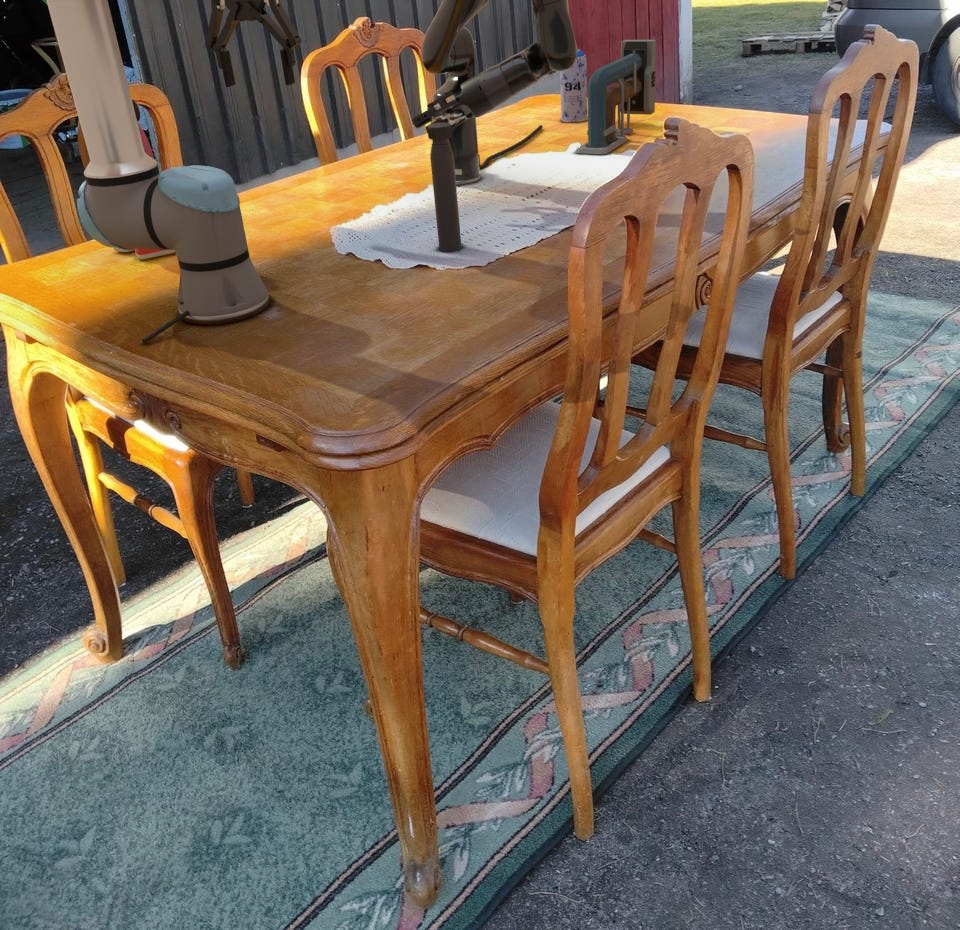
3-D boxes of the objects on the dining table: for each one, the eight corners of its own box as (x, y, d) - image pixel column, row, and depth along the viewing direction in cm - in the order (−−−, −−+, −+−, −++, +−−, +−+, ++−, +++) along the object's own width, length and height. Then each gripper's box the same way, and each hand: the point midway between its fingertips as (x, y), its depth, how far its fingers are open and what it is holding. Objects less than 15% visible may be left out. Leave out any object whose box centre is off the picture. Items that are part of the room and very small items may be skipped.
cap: (423, 138, 175) (422, 126, 174) (438, 133, 178) (437, 121, 177) (442, 140, 173) (440, 128, 172) (456, 135, 175) (455, 123, 174)
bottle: (434, 249, 185) (422, 129, 174) (448, 243, 188) (437, 124, 177) (452, 252, 183) (441, 130, 172) (465, 246, 186) (455, 125, 175)
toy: (197, 251, 195) (161, 95, 180) (152, 266, 189) (111, 105, 174) (143, 235, 208) (105, 88, 193) (99, 248, 202) (57, 97, 187)
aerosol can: (559, 122, 275) (557, 47, 265) (562, 117, 282) (559, 42, 272) (587, 121, 274) (585, 45, 263) (589, 115, 280) (587, 41, 270)
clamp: (605, 154, 239) (605, 62, 228) (573, 153, 243) (571, 62, 232) (654, 123, 265) (655, 39, 254) (624, 122, 269) (624, 39, 258)
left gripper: (306, -38, 185) (323, 79, 195) (192, -31, 192) (215, 83, 202) (289, -35, 178) (307, 86, 189) (172, -27, 186) (196, 89, 196)
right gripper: (489, 82, 207) (424, 118, 211) (471, 64, 193) (402, 104, 198) (503, 114, 207) (438, 150, 212) (486, 99, 193) (417, 138, 198)
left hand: (260, 85), depth 196 cm, fingers open, 13 cm apart
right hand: (420, 128), depth 205 cm, fingers open, 8 cm apart
